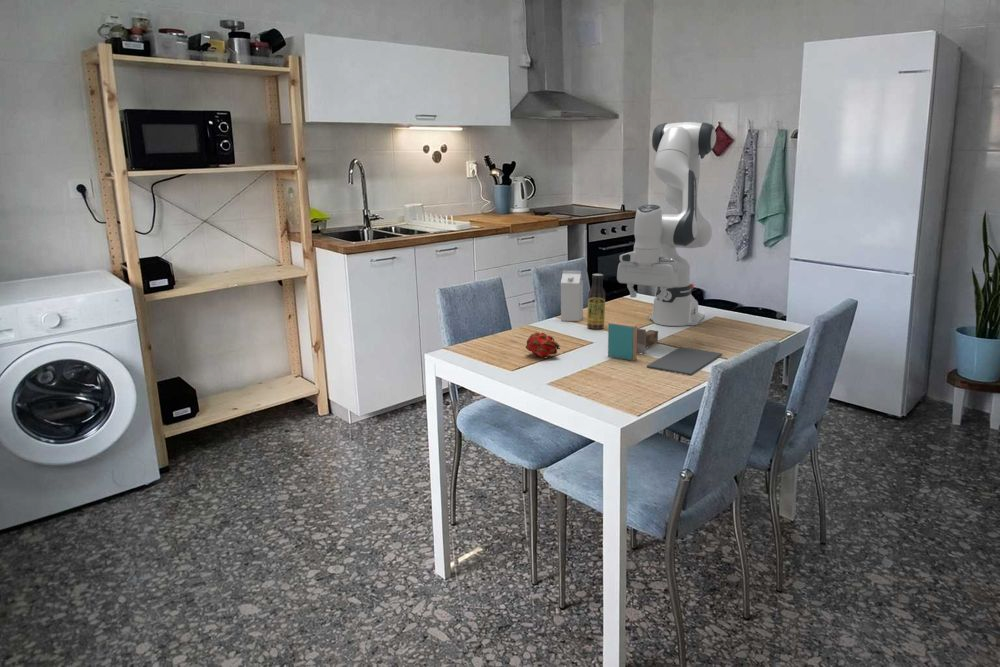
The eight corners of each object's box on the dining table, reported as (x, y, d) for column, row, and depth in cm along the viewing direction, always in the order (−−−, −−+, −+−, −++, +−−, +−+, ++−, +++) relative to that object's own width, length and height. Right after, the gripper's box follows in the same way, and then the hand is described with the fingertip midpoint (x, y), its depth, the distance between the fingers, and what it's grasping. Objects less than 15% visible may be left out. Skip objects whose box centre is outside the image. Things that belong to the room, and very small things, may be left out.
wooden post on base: (642, 340, 241) (643, 317, 239) (664, 343, 236) (665, 320, 234) (621, 350, 230) (621, 327, 228) (643, 354, 225) (644, 330, 223)
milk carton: (565, 316, 277) (564, 268, 272) (583, 317, 274) (582, 269, 269) (561, 321, 270) (560, 272, 265) (579, 321, 268) (579, 272, 263)
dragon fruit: (526, 357, 231) (557, 367, 225) (516, 348, 224) (548, 359, 218) (536, 334, 233) (567, 344, 227) (526, 324, 225) (559, 334, 219)
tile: (611, 354, 225) (611, 321, 223) (636, 359, 220) (637, 325, 217) (607, 356, 224) (607, 323, 221) (633, 361, 218) (633, 326, 215)
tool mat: (680, 348, 230) (680, 346, 230) (722, 355, 221) (722, 353, 221) (646, 367, 212) (646, 365, 211) (690, 375, 203) (690, 373, 203)
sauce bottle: (586, 329, 256) (587, 276, 251) (587, 325, 262) (587, 272, 257) (605, 329, 255) (605, 275, 250) (605, 325, 261) (605, 272, 256)
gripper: (682, 257, 222) (680, 300, 226) (624, 253, 235) (623, 293, 238) (673, 260, 218) (671, 303, 221) (615, 255, 230) (614, 297, 233)
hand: (646, 298), depth 230 cm, fingers open, 8 cm apart
